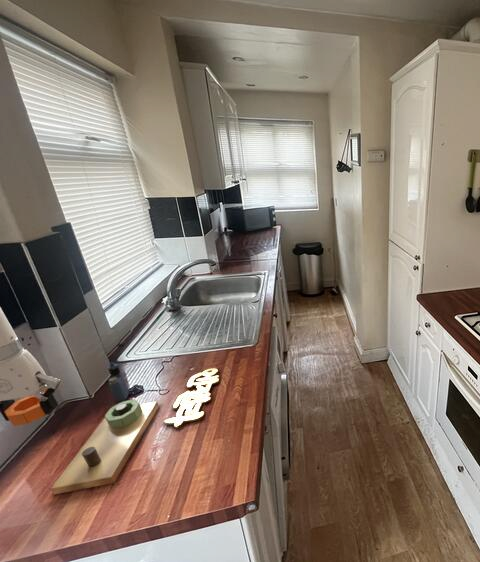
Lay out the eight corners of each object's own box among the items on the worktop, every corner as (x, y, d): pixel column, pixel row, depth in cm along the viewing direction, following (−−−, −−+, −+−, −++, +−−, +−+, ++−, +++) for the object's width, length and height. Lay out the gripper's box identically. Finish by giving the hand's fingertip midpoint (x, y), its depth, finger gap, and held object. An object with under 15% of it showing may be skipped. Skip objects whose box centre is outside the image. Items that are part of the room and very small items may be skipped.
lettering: (194, 372, 107) (193, 370, 106) (224, 368, 108) (224, 366, 108) (161, 430, 84) (160, 428, 84) (200, 424, 85) (199, 422, 85)
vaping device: (130, 390, 99) (118, 360, 95) (125, 401, 95) (111, 370, 90) (121, 392, 98) (107, 362, 94) (115, 404, 94) (100, 372, 89)
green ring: (103, 430, 82) (99, 422, 81) (118, 410, 89) (114, 402, 88) (133, 425, 84) (130, 417, 82) (146, 406, 90) (142, 398, 89)
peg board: (53, 494, 69) (42, 476, 66) (114, 413, 90) (107, 397, 88) (114, 482, 71) (104, 464, 68) (159, 406, 93) (153, 390, 90)
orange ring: (2, 427, 70) (-5, 418, 69) (28, 404, 76) (22, 395, 75) (39, 422, 71) (33, 412, 70) (61, 399, 78) (56, 390, 77)
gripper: (-72, 368, 62) (-26, 432, 69) (28, 355, 65) (64, 418, 72) (-35, 348, 69) (4, 408, 76) (55, 337, 72) (84, 395, 79)
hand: (33, 412), depth 74 cm, fingers closed on orange ring, 7 cm apart
